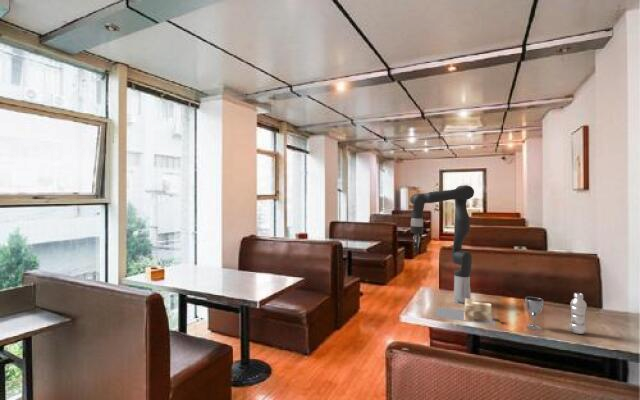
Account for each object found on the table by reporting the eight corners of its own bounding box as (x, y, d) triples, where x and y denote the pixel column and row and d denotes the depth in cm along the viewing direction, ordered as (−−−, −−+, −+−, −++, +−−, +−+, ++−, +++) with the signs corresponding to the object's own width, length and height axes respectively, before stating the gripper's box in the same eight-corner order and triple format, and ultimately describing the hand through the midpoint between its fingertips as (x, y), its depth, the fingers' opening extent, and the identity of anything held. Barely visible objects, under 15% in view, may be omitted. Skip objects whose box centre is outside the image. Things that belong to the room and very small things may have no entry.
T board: (434, 318, 185) (434, 316, 185) (436, 308, 201) (436, 306, 201) (495, 327, 173) (495, 325, 173) (492, 316, 190) (492, 314, 190)
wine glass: (540, 325, 176) (540, 297, 176) (544, 331, 169) (545, 302, 169) (523, 323, 179) (523, 296, 179) (526, 329, 171) (527, 300, 171)
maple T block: (465, 319, 180) (465, 305, 180) (464, 311, 193) (465, 298, 193) (491, 323, 175) (492, 308, 175) (489, 315, 188) (490, 301, 188)
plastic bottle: (565, 330, 170) (566, 291, 170) (578, 330, 171) (579, 291, 171) (576, 335, 164) (577, 295, 164) (589, 335, 164) (590, 295, 164)
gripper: (421, 226, 203) (421, 254, 203) (423, 225, 215) (423, 251, 216) (409, 226, 206) (408, 253, 206) (412, 224, 218) (411, 250, 219)
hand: (416, 252), depth 211 cm, fingers closed
